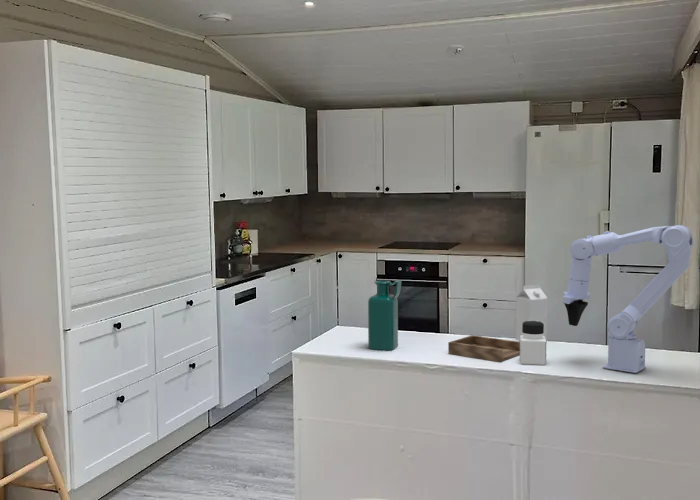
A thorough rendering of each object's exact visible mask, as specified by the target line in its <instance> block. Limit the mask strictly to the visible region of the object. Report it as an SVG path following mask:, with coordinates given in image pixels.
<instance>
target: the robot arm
mask: <svg viewBox="0 0 700 500" xmlns="http://www.w3.org/2000/svg"><path fill="white" fill-rule="evenodd" d="M646 242H653V243H655V244H657V245H658V244H659V245H660V244H662V245H663V247H664V249H665V251H666V253H667V259H668V262H667V264H666V265H665V266H664V267H663V268H662V270H660V271H659V273H657V275H656V276H655V277H653V279H652V280H651V281H650V282H649V283H648V284H647V285H646V287H644V288H643V290H641V291H640V293H639V294H638V295H637V296H636V297H635V298H634V299H632V301H631V302H630V303H629V305H628V306H626V307H625V308H624V309H623V310H622V311H620V312H618V313H617V314H616V315H614V316H612V317H611V318H609V320H608V322H607V326H606V327H607V331H608V340H607V341H608V346H607V347H608V352H607V353H608V356H607V364H604V365H602V368H603V369H607V370H614V371H620V372H627V373H634V374H637V373H639V372H641V371H643V370H644V369H646V368H647V367H646V343H645V341H644V339H640V338H638V337H637V335H636V334H635V332H634V330H635V329H636V328H637V325H638V322H639V321H640V319H641V318H643V316H644V314H646V312H647V311H648V310H649V309H651V307H652V306H653V305H654V304H655V303H656V302H657V301H658V300H659V299H660V298H661V297H662V296H663V295H664V294H665V293H666V292H667V291H668V290H669V289H670V288H671V287H672V286H673V284H675V282H676V281H677V280H678V279H679V278H680V277H681V276H682V275H683V274H684V273H685V272H686V271H687V270H688V269H689V267H690V265H691V259H692V252H693V246H694V239H693V235H692V232H691V230H690V229H689V228H688V227H687V226H685V225H683V224H676V225H672V226H671V225H663V226H653V227H648V228H645V229H641V230H637V231H632V232H628V233H624V234H617V233H615V232H614V231H612V232H611V231H609V230H607V231H604V232H603V234H597V235H594V236H592V235H591V234H590V235H587V236H586V238H579V239H576V240H574V241H573V242H572V243H571V245H570V247H569V250H570V251H569V252H570V254H571V259H570V264H569V271H568V272H569V273H568V283H567V288H566V291H563V292H562V294H563V296H562V300H561V301H562V304H564V306H565V308H566V312H567V320H568V321H567V322H568V324H569V326H572V327H573V326H574V327H577V326H578V325H579V323H580V320H581V317H582V316H583V313H584V312H585V309H586V308H587V307H588V305H589V302H588V301H584V300H591V292H588V291H589V286H590V285H589V283H590V276H591V270H592V257H593V256H594V257H599V256H603V255H608V254H612V253H618V252H619V251H620V249H621V248H622V247H625V246H628V245H635V244H640V243H646Z"/></svg>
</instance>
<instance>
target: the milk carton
mask: <svg viewBox="0 0 700 500" xmlns="http://www.w3.org/2000/svg"><path fill="white" fill-rule="evenodd" d="M522 288H523V289H522V291H520V293H519V294H517V296H516V302H515V303H516V305H515V307H516V308H515V311H516V312H515V315H516V316H515V321H516V322H515V324H516V325H515V341H516V340H517V341H518V342H520V336H521V335H522V324H523V322H525V321H540V322H542V323H543V324H544V337H545V339H546V342H547V341H548V340H547V339H548V297H547V295H546V294H545V293H544V291H543V290H542V288H541V284H534V285H533V284H532V285H523V287H522Z"/></svg>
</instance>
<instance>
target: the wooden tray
mask: <svg viewBox="0 0 700 500" xmlns="http://www.w3.org/2000/svg"><path fill="white" fill-rule="evenodd" d="M447 345H448V351H447V352H448V355H455V356H460V357H465V358H473V359H478V360H483V361H484V360H485V361H491V362H495V363H496V362H497V363H503V362H505V361H508V360H510V359H513V358H515V357H518V356H519V357H520V341H519V340H517V341H516V340H509V339H502V338H496V337H487V336H481V335H469V336H465V337H461V338H459V339H455V340H452V341H449V342H448V344H447Z"/></svg>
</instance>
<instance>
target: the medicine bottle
mask: <svg viewBox="0 0 700 500" xmlns="http://www.w3.org/2000/svg"><path fill="white" fill-rule="evenodd" d="M519 342H520V355H519V360H520V361H519V362H520V364H521V365H535V366H546V365H547V341H546V339H545V337H544V324H543V323H542V322H540V321H525V322H523V324H522V335H521V336H520V341H519Z"/></svg>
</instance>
